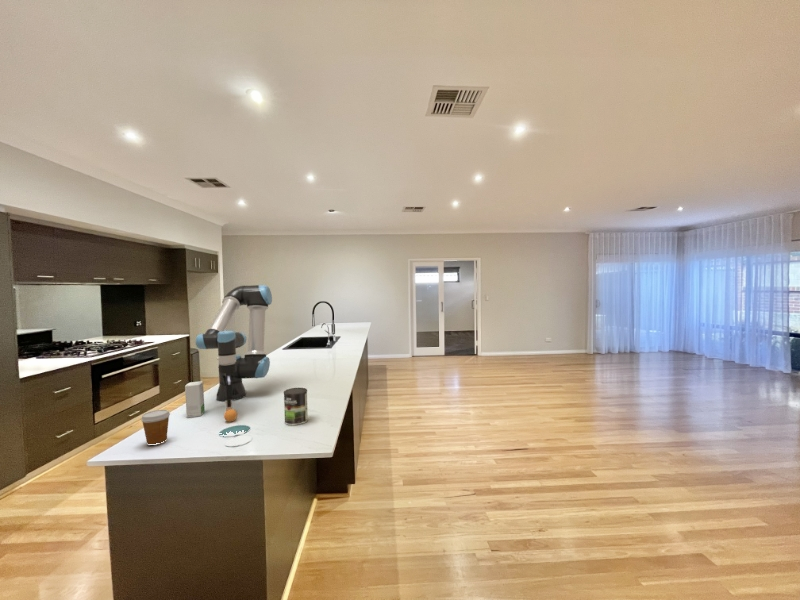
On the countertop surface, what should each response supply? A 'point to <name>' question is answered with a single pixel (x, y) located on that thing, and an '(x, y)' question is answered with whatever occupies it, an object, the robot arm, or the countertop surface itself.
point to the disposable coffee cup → (155, 426)
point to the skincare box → (194, 399)
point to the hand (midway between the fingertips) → (229, 413)
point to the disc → (234, 429)
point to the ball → (230, 415)
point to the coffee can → (295, 406)
